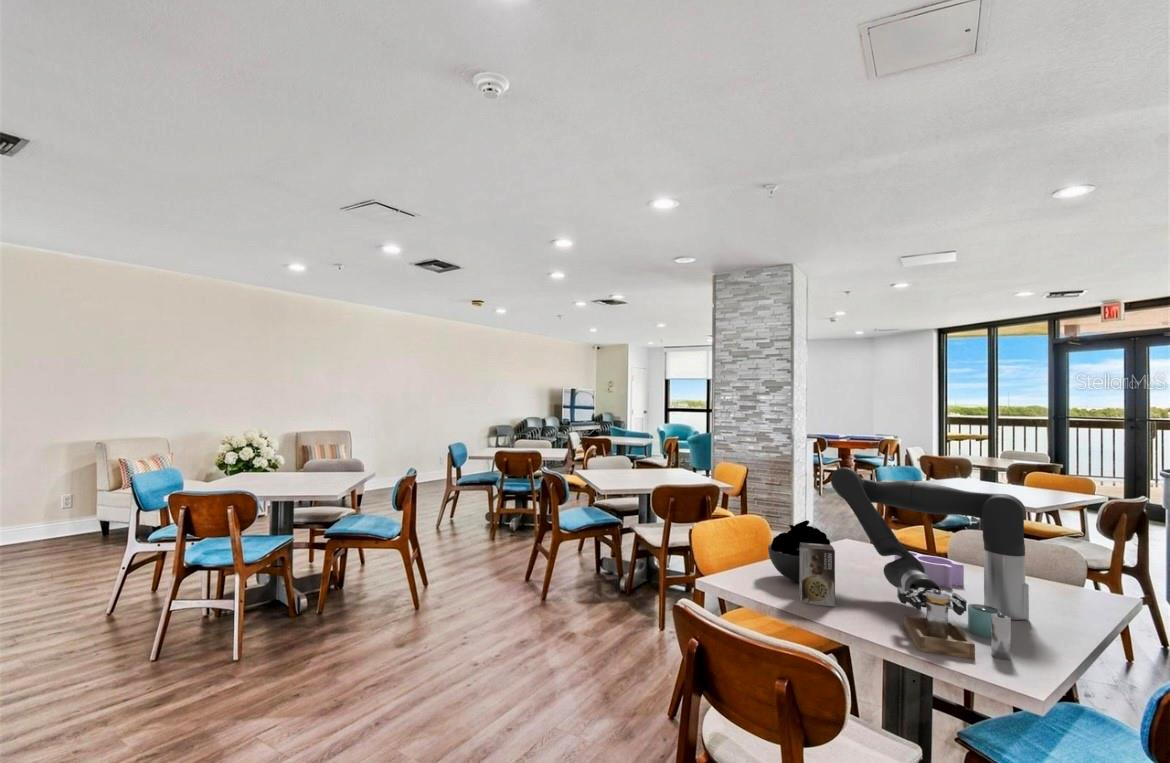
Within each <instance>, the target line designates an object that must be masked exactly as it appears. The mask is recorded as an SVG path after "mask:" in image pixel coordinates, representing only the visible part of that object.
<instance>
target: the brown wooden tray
mask: <svg viewBox="0 0 1170 763" xmlns="http://www.w3.org/2000/svg"><path fill="white" fill-rule="evenodd" d="M903 630H904V631H905V632H906V634H907V635H908V636H909V637H910V639H911V641H912V642H913V643H914V645H915V646H916V648H917V649H918V651H919V652H923V653H929V654H936V655H944V656H945V655H946V656H952V657H956V658H957V657H959V658H964V659H965V658H966V659H972V660H975V659H976V644H975V643H974V642H973V641H972V640H971V638H970V637H969V636H967V634H966V633H964V631H963V630H961V628H960V627H959V626H958V625H957V624H956V623H955V622H954V621H951V620H948V639H944V638H936V637H929V636H926V618H925V617H918V616H911V615H910V616H909V615H903Z"/></svg>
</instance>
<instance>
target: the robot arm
mask: <svg viewBox="0 0 1170 763" xmlns="http://www.w3.org/2000/svg"><path fill="white" fill-rule="evenodd" d="M830 483H831V484H830V485H831V487H832V489H833V490H834V491H835V493H836V494H837V495H838V496H839V497H840V498H842V499H843V500H844V501H845V502H846V503H847V505H848V506H849V507H850V508H851V511H852V512H853V514H854V515H855V518H857V521H858V522H859V524H860V525H861V527H862V529H863V530H864V531H863V532H864V533H865V534H866V536H867V537H868V539H869V541H870V542H871V544H872V545H873V547H874V549H875V551H876V552H877V553H878V555H880V556H882V557H889V556H890V557H891V556H895V555H898V556H900V557H902V558H899V559H897V560H895V559H894V560H892V561H890V562H888V563H886V564H884V567H883V575H884V577H885V579H886V581H888V583H889V584H891V585H892V586H893V587H895V588H896V589H897V590H896V591H897V592H896V594H897V595H896V596H897V598H898V601H899V602H900V603H901V604H904V605H905V604H909V605H910V606H912V607H913V608H915V609H916V610H917V611H922V608H925V609H926V593H927V591H928V590H939V591H941V592H942V590H941V589H940V586H938V585H937V584H936V583H935V582H934V581H933V580H932V579H931V578H930V577H928V576H927V575H926V574H925V570H924V567H923V565H922V564H921V562H920V561H919V560H918V559H917V558H915V557H914V556H913V555H912V554H911V553H910V552H909V551H910V550H907V549H906V547H905V546H904V545H903V544H902V543H901V542H900V541H899V539H898V538H897V536H896V534H895V533H894V532H893V530H892V529H891V527H890V526H889V525H888V523H887V522H886V519H884V518H883V516H882V515H881V514H880V513H879V511H878V510H877V508H876V507H875V505H874V504H881V505H885V506H890V507H893V508H898V509H904V510H908V511H913V512H918V513H924V514H929V515H930V514H932V515H950V516H951V515H952V516H953V515H954V516H966V517H967V516H968V517H972V518H978V519H980V520H982V523H981V524H982V540H983V564H984V565H983V605H986V606H990V607H994V608H996V609H999V610H1000V611H1001V612H1002V614H1004V615H1005V616H1008V617H1010V618H1011V620H1015V621H1021V620H1030V602H1029V601H1030V598H1029V597H1030V594H1029V593H1030V592H1029V591H1030V589H1029V588H1030V587H1029V584H1028V583H1027V582H1026V545H1025V518H1026V515H1027V510H1026V507H1025V505H1024V504H1023V502H1022V501H1021V500H1020V499H1018V498H1017V497H1015V496H1014V495H1011V494H1007V493H989V492H977V491H976V492H975V491H969V490H962V489H957V488H954V487H950V486H946V485H940V484H933V483H930V482H923V481H916V480H898V481H897V480H896V481H888V482H887V481H884V482H883V481H876V480H872V479H871V480H870V479H866V478H864V477H863V478H862V477H861V476H860V475H859V474H858V472H856V471H855V470H854V469H853V468H849V467H845V466H844V467H839V468H837V469H835V470H834V471H833V472H832V474H831V476H830ZM873 503H874V504H873ZM967 602H968V601H967V600H966V599H965V598H963V597H962V595H960V594H958V593H956V592H953V593H952V595H950V594H948V610H952V611H953V612H954V613H955V614H956V615H957V616H962V615H963V614H964V612H968V608H967Z"/></svg>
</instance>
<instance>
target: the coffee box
mask: <svg viewBox="0 0 1170 763" xmlns="http://www.w3.org/2000/svg"><path fill="white" fill-rule="evenodd" d="M835 557H836V550H835V549H834V546H832V544H830V545H826V544H814V543H800V574H799V582H798V583H799V588H798V590H799V594H798V596H799V599H800V603H801V604H807V605H814V606H815V605H816V606H824V607H825V606H826V607H835V608H836V558H835Z"/></svg>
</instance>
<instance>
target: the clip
mask: <svg viewBox="0 0 1170 763" xmlns="http://www.w3.org/2000/svg"><path fill="white" fill-rule="evenodd" d="M908 551H909V552H910V553H911V554H912V555H913V556H914V557H915V558H917V559H918V560H919V561H920V562H921V564H922V565H923V567H924V570H925V574H926V575H927V576H928V577H930V578H931V579H932V580H933V581H934V582H935V583H936V584H937V585H938V586H939V587H945V588H948V589H953V585H954V586H958V585H959V586H960V587H964V585H965V584H964V583H965V581H964V580H965V579H964V578H965V577H964V576H965V571H964V570H965V569H964V566H965V565H964V563H958V562H956V561H954V560H952V559H950V558H945V557H940V556H934V555H926V554H921V553H918V552H915V551H911V550H908ZM899 558H902V557H900V556H898V555H894V561H895V560H897V559H899Z"/></svg>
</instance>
